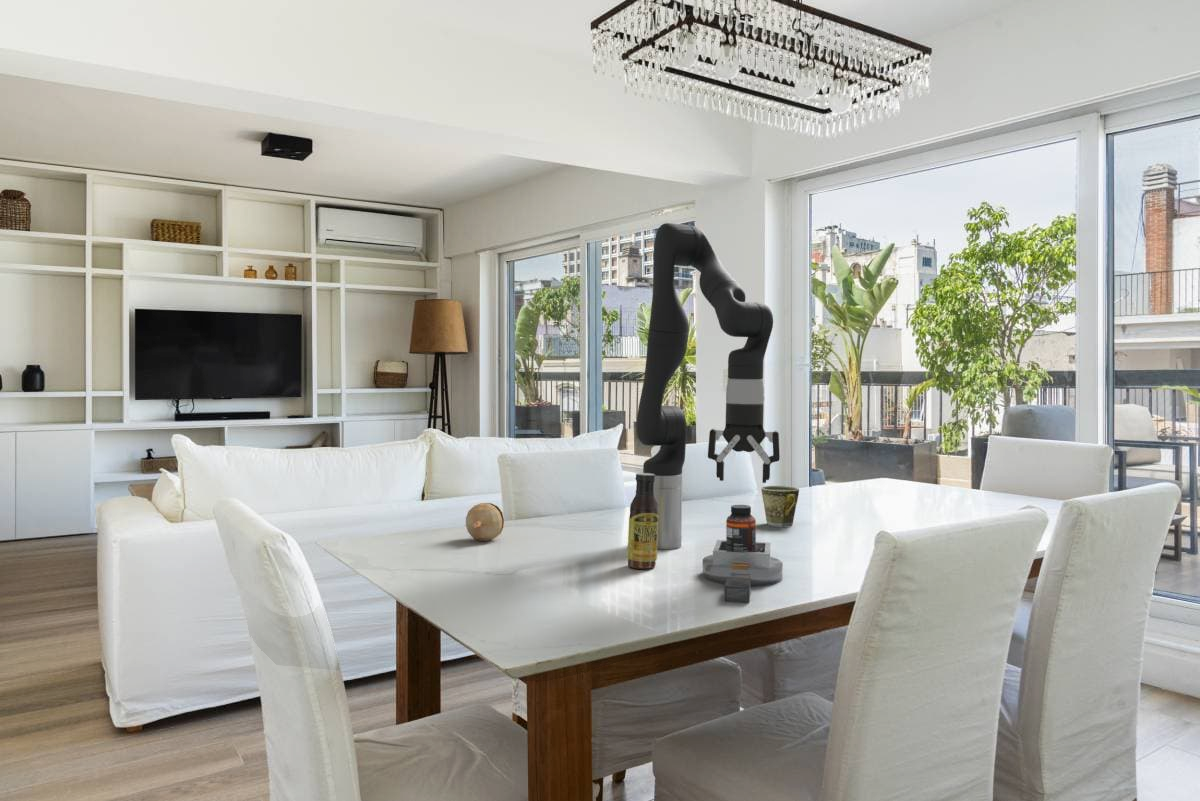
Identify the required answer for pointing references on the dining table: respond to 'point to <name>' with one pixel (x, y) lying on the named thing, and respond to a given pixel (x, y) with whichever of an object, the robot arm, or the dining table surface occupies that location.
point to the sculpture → (484, 521)
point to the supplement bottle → (741, 529)
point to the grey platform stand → (742, 570)
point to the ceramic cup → (780, 504)
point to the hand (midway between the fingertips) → (743, 481)
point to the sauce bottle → (643, 524)
